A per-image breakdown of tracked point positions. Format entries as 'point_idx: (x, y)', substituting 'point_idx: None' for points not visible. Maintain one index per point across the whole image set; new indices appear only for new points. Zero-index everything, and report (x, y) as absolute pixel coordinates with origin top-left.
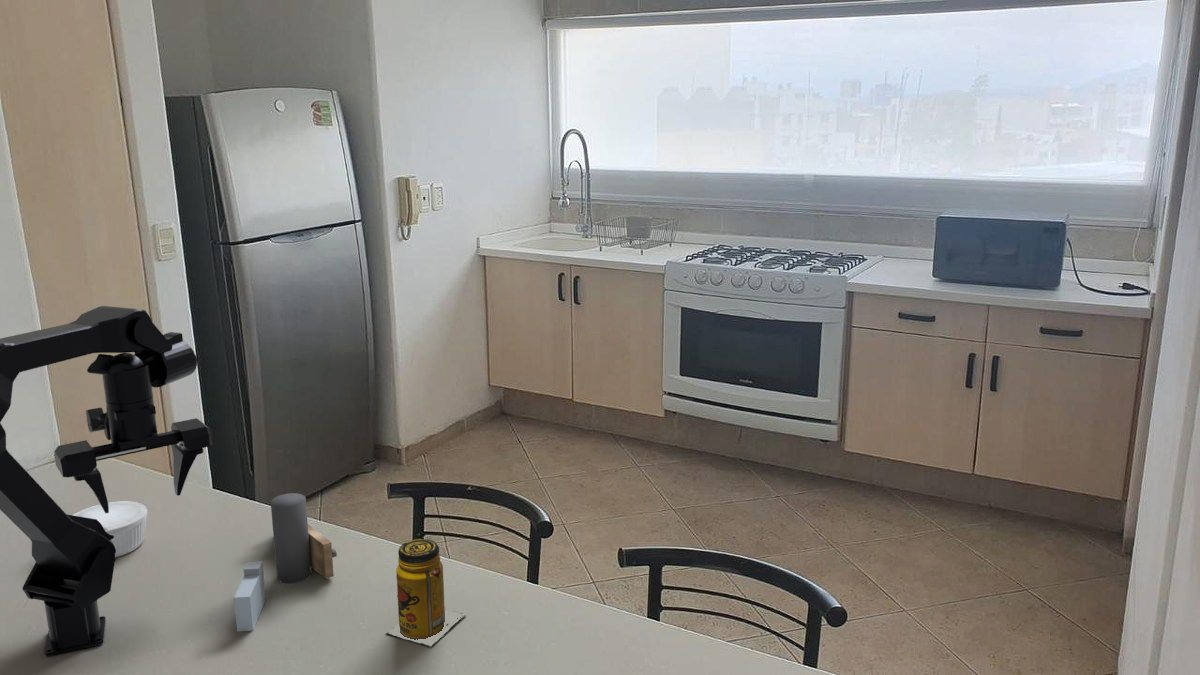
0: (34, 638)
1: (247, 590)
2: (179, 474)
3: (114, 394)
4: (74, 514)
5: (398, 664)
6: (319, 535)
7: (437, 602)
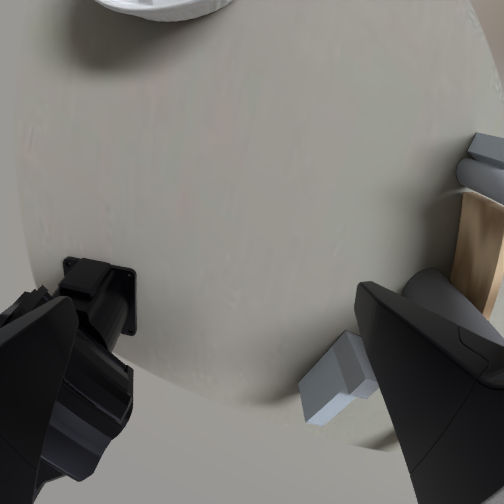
0: (51, 261)
1: (328, 415)
2: (394, 427)
3: None
4: None
5: (374, 448)
6: None
7: None
